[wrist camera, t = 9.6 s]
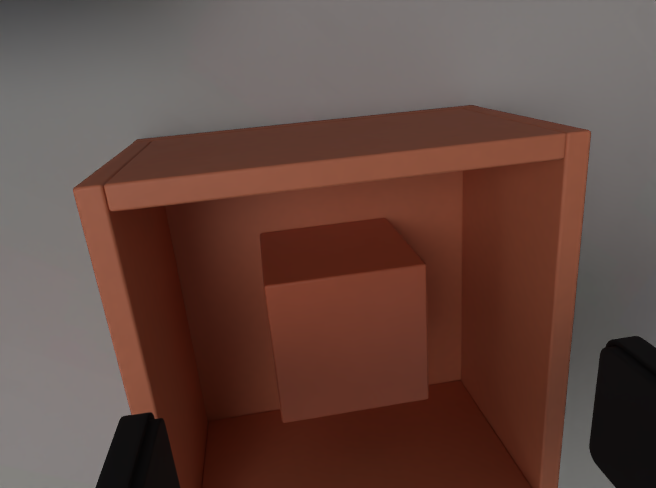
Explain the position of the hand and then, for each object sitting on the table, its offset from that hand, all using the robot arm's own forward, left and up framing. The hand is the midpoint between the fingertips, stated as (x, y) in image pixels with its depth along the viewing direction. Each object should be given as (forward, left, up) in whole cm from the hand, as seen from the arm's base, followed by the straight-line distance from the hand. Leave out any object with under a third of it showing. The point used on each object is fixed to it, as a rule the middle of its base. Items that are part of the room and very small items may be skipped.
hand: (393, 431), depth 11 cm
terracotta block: (0, 0, -8) cm, 8 cm away
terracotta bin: (0, 0, -9) cm, 9 cm away
